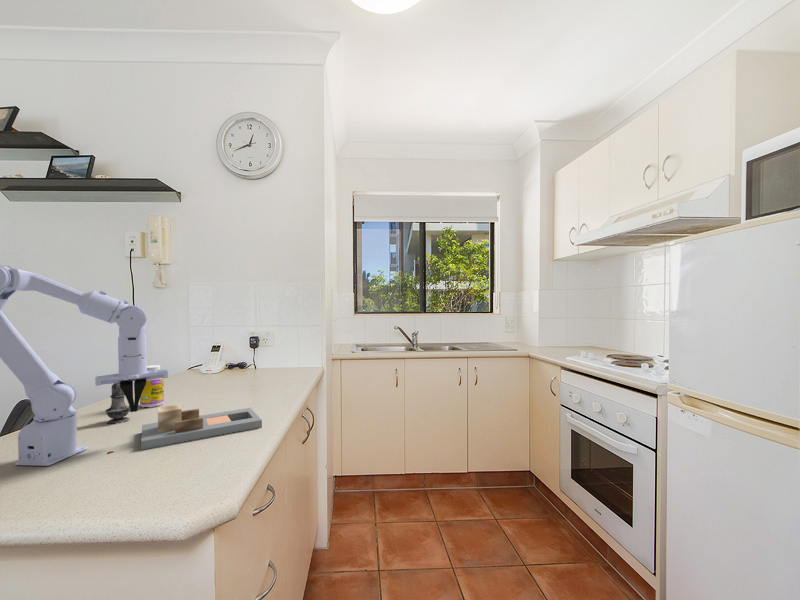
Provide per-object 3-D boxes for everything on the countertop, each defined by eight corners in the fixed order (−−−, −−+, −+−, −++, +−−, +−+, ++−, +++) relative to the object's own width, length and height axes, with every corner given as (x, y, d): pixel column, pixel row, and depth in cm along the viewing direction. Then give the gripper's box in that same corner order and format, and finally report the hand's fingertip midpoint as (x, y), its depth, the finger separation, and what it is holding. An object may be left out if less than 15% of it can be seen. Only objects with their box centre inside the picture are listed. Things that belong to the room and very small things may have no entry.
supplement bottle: (150, 409, 124) (149, 368, 124) (135, 407, 126) (134, 367, 126) (168, 403, 130) (168, 365, 130) (153, 402, 132) (153, 364, 132)
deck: (141, 449, 90) (141, 441, 90) (142, 432, 102) (142, 424, 102) (261, 427, 105) (261, 419, 105) (250, 414, 117) (250, 407, 117)
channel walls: (175, 432, 95) (175, 422, 95) (173, 421, 104) (173, 412, 104) (203, 428, 99) (202, 418, 99) (198, 417, 107) (198, 408, 107)
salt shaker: (135, 418, 115) (135, 377, 114) (119, 424, 109) (118, 381, 109) (117, 417, 115) (116, 377, 115) (100, 424, 109) (99, 381, 109)
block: (158, 432, 96) (158, 412, 96) (158, 427, 100) (157, 407, 100) (181, 428, 98) (181, 409, 98) (180, 423, 103) (180, 404, 103)
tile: (208, 432, 101) (208, 425, 101) (205, 425, 107) (205, 418, 107) (231, 428, 104) (231, 421, 104) (227, 421, 110) (227, 415, 110)
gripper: (93, 360, 88) (94, 420, 88) (168, 354, 96) (169, 409, 96) (96, 356, 94) (98, 412, 94) (166, 351, 102) (168, 403, 102)
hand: (134, 410), depth 95 cm, fingers closed
